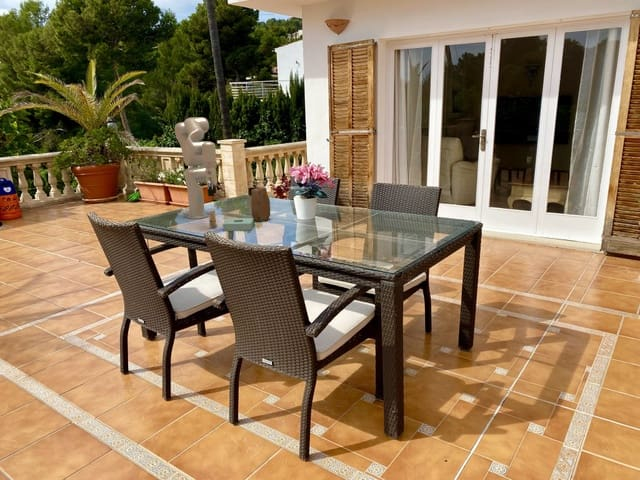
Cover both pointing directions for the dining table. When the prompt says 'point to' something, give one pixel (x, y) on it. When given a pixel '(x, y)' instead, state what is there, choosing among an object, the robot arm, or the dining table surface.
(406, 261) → the dining table surface
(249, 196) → the glass holder
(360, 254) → the dining table surface
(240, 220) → the socket board
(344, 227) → the dining table surface
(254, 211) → the brown upright rounded piece
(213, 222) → the peg
